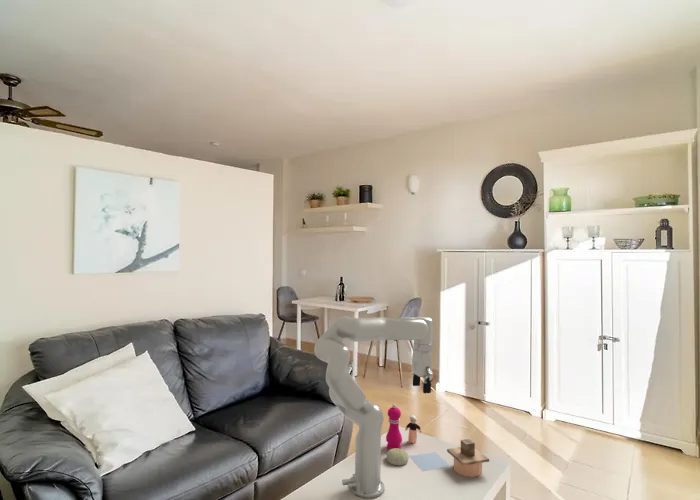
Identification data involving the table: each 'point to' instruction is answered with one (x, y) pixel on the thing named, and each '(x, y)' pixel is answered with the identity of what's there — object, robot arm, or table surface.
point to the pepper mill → (394, 428)
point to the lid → (467, 453)
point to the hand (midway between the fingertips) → (421, 389)
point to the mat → (429, 461)
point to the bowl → (468, 469)
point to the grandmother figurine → (412, 430)
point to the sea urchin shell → (397, 456)
